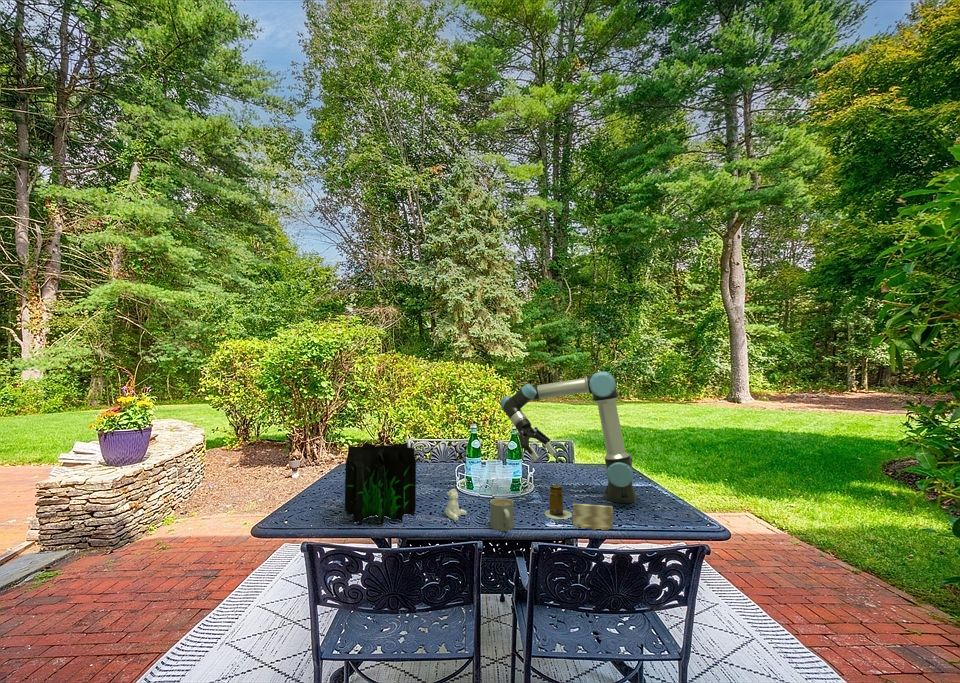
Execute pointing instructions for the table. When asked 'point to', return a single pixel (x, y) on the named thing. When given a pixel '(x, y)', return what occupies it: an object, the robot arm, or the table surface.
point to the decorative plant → (380, 481)
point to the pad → (558, 517)
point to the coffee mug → (501, 514)
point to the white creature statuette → (454, 506)
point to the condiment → (556, 502)
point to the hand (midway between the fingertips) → (545, 456)
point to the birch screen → (593, 516)
